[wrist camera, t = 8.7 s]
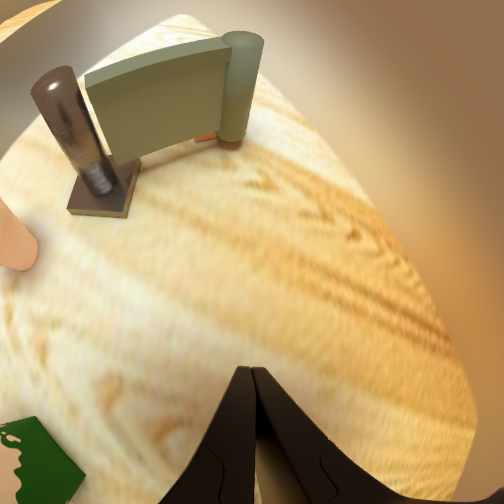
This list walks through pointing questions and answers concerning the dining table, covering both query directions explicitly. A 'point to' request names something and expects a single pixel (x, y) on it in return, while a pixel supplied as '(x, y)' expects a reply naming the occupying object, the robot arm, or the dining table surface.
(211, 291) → the dining table surface
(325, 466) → the robot arm
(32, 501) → the milk carton
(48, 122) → the hinge post
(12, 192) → the dining table surface
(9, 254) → the smoothie
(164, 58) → the gate
